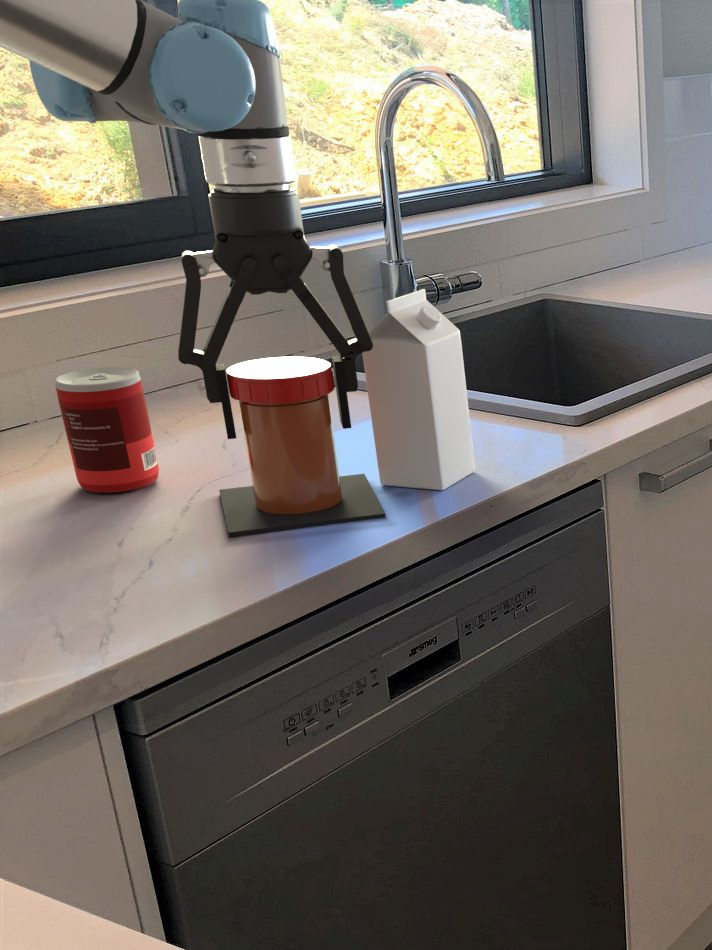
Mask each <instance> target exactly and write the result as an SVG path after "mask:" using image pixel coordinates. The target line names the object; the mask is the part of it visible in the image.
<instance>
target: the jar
mask: <svg viewBox="0 0 712 950" xmlns="http://www.w3.org/2000/svg"><path fill="white" fill-rule="evenodd" d="M238 407H239V413H240V418H241V425H242V431H243V435H244V436H243V437H244V442H245V443H244V444H245V448H246V455H247V462H248V469H249V473H250V480H251V486H253V492H254V498H255V504H256V507H257V508H258V509H259V510H261V511H264V512H267V513H273V514H301V513H309V512H315V511H320V510H323V509H327V508H330V507H332V506H334V505H336V504H338V503H339V502H340V501H341V500H342V498H343V497H342V490H341V483H340V476H341V475H340V469H339V462H338V455H337V449H336V440H335V434H334V426H333V419H332V412H331V411H332V410H331V405H330V397H329V394H327V395H324V396H322V397H318V398H314V399H310V400H305V401H298V402H289V403H273V404H263V403H248V402H242V401H238Z"/></svg>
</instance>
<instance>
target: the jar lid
mask: <svg viewBox="0 0 712 950" xmlns="http://www.w3.org/2000/svg"><path fill="white" fill-rule="evenodd" d="M332 369H333V367H332V363H331V362H329V361H328V360H325V359H322V358H316V357H308V356H278V357H277V356H276V357H265V358H259V359H252V360H251V359H250V360H246V361H242V362H239V363H236V364H233V365H231V366H229V367H228V368H226V370H225V373H226V379H227V385H228V391H229V397H230V398H231V399H233V400H236V401H238V402H239V401H242V402H248V403H263V404H273V403H289V402H298V401H305V400H310V399H314V398H318V397H322V396H324V395H327V394H328V395H329V394H331V393H332V392H333V391H334V390H335V389H336V385H335V378H334V370H332Z"/></svg>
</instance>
